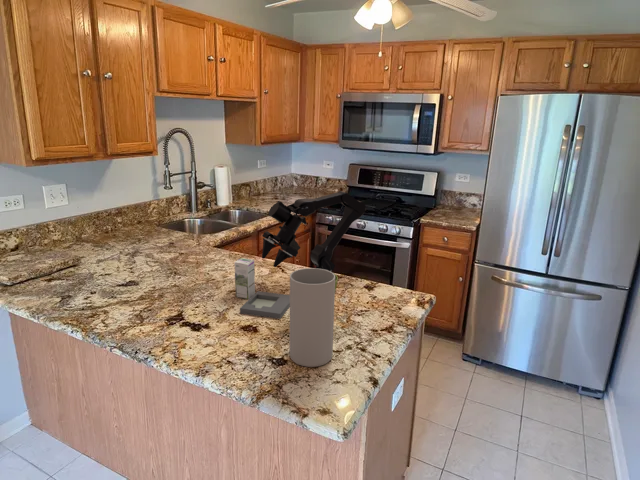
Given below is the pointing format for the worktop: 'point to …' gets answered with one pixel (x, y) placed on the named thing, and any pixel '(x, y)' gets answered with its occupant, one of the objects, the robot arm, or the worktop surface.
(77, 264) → the worktop surface
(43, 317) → the worktop surface
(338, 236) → the robot arm
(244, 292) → the syrup box
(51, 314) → the worktop surface
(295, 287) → the cylinder vase
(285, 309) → the pocket plate
